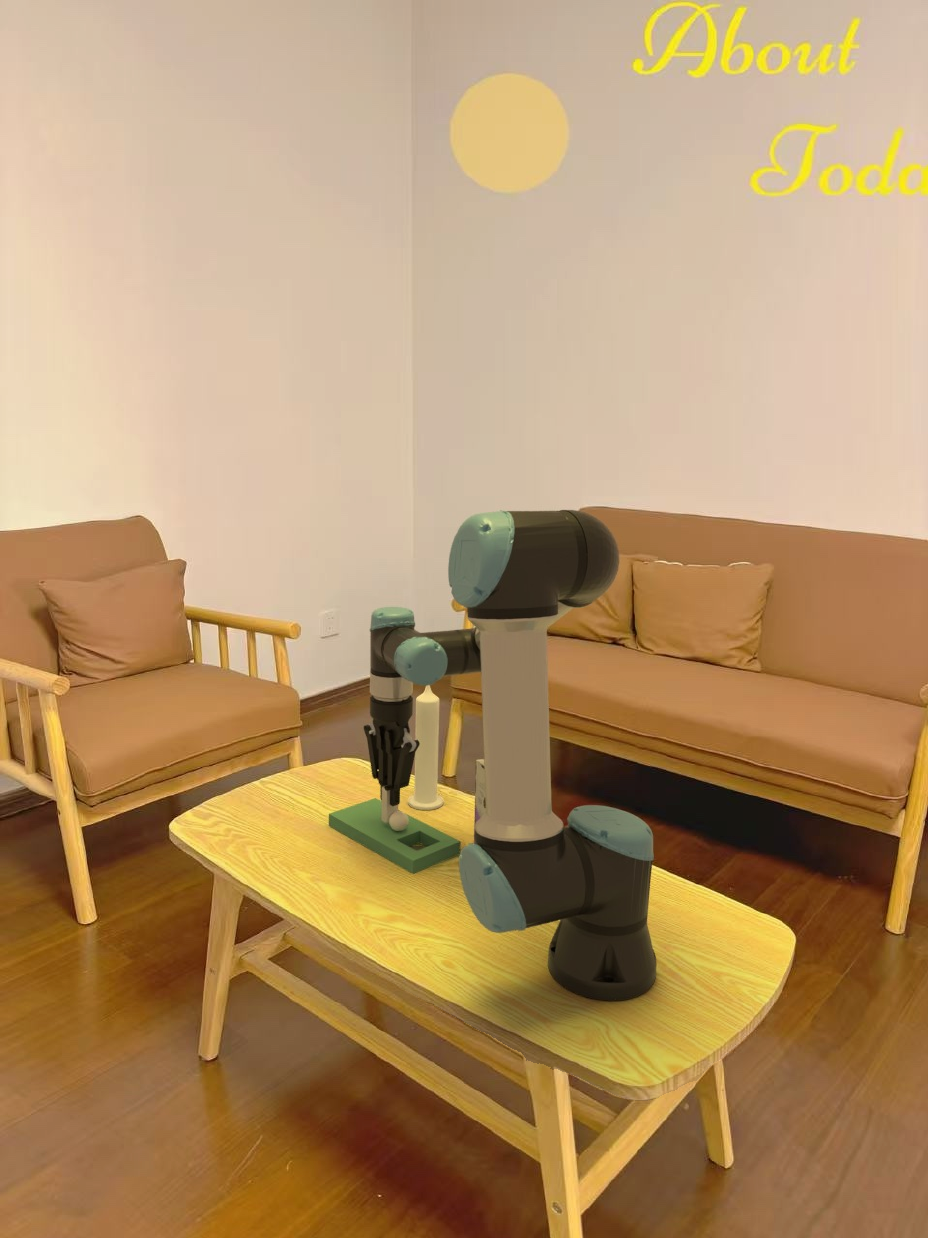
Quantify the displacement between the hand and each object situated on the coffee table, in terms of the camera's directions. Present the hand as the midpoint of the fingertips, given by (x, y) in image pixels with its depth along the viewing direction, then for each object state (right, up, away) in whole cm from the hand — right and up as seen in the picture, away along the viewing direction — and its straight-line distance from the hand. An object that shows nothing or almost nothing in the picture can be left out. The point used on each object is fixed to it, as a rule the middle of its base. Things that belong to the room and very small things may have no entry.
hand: (389, 819), depth 168 cm
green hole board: (0, -4, 0) cm, 4 cm away
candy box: (+20, -6, -5) cm, 22 cm away
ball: (+2, 0, -2) cm, 3 cm away
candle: (+6, 0, +16) cm, 17 cm away
